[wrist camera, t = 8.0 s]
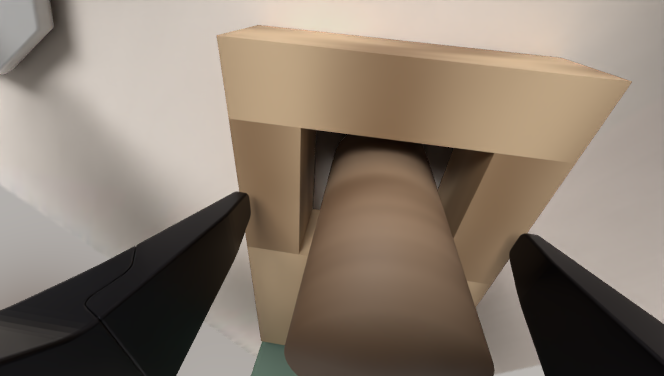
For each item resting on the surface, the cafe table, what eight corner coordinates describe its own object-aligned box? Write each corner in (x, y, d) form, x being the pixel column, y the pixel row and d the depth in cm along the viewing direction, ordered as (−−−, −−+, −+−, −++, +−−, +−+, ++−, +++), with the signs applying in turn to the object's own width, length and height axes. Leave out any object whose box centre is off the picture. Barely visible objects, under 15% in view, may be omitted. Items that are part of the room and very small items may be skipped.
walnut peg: (413, 208, 13) (451, 420, 6) (329, 196, 13) (285, 389, 7) (439, 129, 11) (538, 337, 4) (337, 116, 11) (281, 294, 4)
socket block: (560, 57, 9) (632, 82, 6) (423, 320, 18) (431, 371, 16) (257, 25, 9) (216, 35, 7) (276, 296, 19) (261, 341, 16)
